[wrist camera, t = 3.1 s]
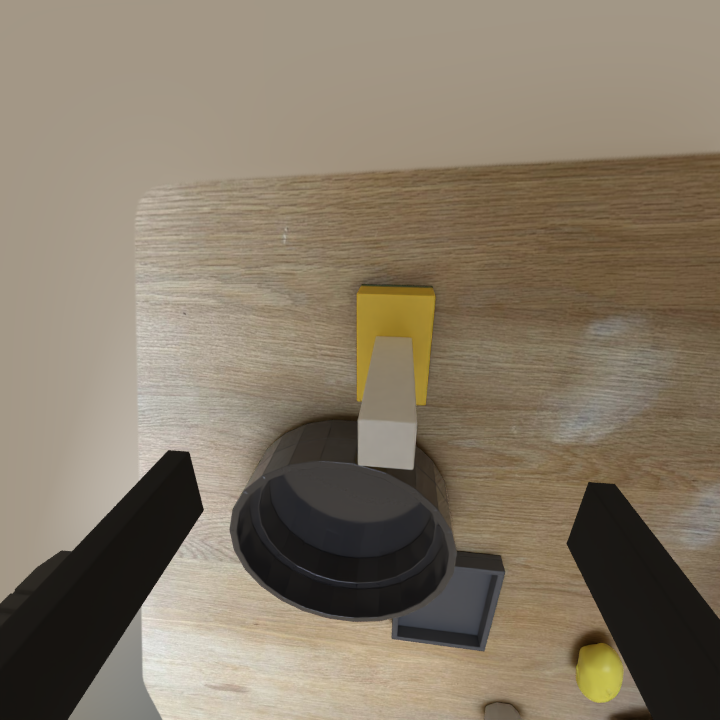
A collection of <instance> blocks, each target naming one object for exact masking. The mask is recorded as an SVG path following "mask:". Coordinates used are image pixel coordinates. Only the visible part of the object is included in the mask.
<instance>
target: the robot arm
mask: <svg viewBox="0 0 720 720" xmlns="http://www.w3.org/2000/svg"><path fill="white" fill-rule="evenodd" d="M203 510H204V509H203V505H202V501H201V497H200V493H199V489H198V485H197V481H196V477H195V473H194V469H193V465H192V461H191V457H190V453H189V452H185V451H171V450H168V451H167V452H166V453H165V454H164V456H163V457H162V458H161V459H160V460H159V461H158V462H157V463H156V464H155V465H154V466H153V467H152V468H151V469H150V470H149V471H148V472H147V473H146V474H145V475H144V476H143V478H142V479H141V480H140V481H139V482H138V483H137V484H136V485H135V486H134V487H133V488H132V489H131V490H130V491H129V492H128V493H127V494H126V495H125V496H124V498H122V500H121V501H120V502H119V503H118V504H117V505H116V506H115V507H114V508H113V509H112V510H111V511H110V512H109V513H108V514H107V515H106V516H105V517H104V518H103V519H102V520H101V522H100V523H99V524H98V525H97V526H96V527H95V528H94V529H93V530H92V531H91V532H90V533H89V534H88V535H87V536H86V537H85V538H84V539H83V540H82V541H81V543H80V544H79V545H78V546H77V547H76V548H75V549H74V550H73V551H72V552H71V551H60V552H59V553H57V554H56V555H54V556H53V557H51V558H50V559H48V560H47V561H46V562H44V563H43V564H41V565H40V566H38V567H37V568H36V569H35V570H34V571H33V572H32V573H31V574H30V575H29V576H28V577H27V578H26V579H25V580H24V581H23V582H22V583H21V584H20V585H19V586H18V587H17V588H16V589H15V592H14V593H13V594H10V595H9V596H8V597H7V598H5V600H3V601H2V603H0V720H68V718H69V716H70V715H71V714H72V712H73V710H74V709H75V707H76V706H77V704H78V703H79V701H80V700H81V698H82V697H83V695H84V694H85V692H86V690H87V689H88V687H89V686H90V684H91V683H92V681H93V680H94V678H95V676H96V675H97V674H98V672H99V670H100V669H101V667H102V666H103V664H104V663H105V661H106V659H107V658H108V657H109V655H110V653H111V652H112V650H113V649H114V647H115V646H116V644H117V643H118V641H119V640H120V638H121V637H122V635H123V634H124V632H125V630H126V629H127V627H128V626H129V624H130V623H131V621H132V620H133V618H134V617H135V615H136V613H137V612H138V610H139V609H140V607H141V606H142V604H143V603H144V601H145V600H146V598H147V597H148V595H149V594H150V592H151V590H152V589H153V587H154V586H155V584H156V583H157V581H158V580H159V578H160V577H161V575H162V574H163V572H164V570H165V569H166V567H167V566H168V564H169V563H170V561H171V560H172V558H173V557H174V555H175V554H176V552H177V550H178V549H179V547H180V546H181V544H182V543H183V541H184V540H185V538H186V537H187V535H188V534H189V532H190V530H191V529H192V527H193V526H194V524H195V523H196V521H197V520H198V518H199V517H200V515H201V514H202V512H203ZM567 546H568V548H569V550H570V552H571V554H572V556H573V558H574V560H575V562H576V564H577V566H578V568H579V570H580V572H581V574H582V576H583V578H584V580H585V582H586V584H587V586H588V588H589V590H590V592H591V594H592V596H593V598H594V600H595V602H596V604H597V606H598V608H599V610H600V612H601V615H602V617H603V619H604V621H605V623H606V625H607V627H608V629H609V631H610V633H611V635H612V637H613V639H614V641H615V643H616V645H617V647H618V649H619V651H620V653H621V655H622V657H623V659H624V661H625V663H626V665H627V667H628V669H629V671H630V673H631V675H632V677H633V679H634V681H635V683H636V686H637V688H638V690H639V692H640V694H641V696H642V698H643V700H644V702H645V704H646V706H647V708H648V710H649V712H650V714H651V716H652V718H653V720H720V619H719V618H718V617H717V615H716V614H715V613H714V612H713V610H712V609H711V608H710V606H709V605H708V604H707V603H706V601H705V600H704V599H703V597H702V596H701V595H700V594H699V592H698V591H697V590H696V588H695V587H694V586H693V584H692V583H691V582H690V581H689V579H688V578H687V577H686V575H685V574H684V573H683V572H682V570H681V569H680V568H679V566H678V565H677V564H676V562H675V561H674V560H673V559H672V557H671V556H670V555H669V553H668V552H667V551H666V550H665V548H664V547H663V546H662V544H661V543H660V542H659V540H658V539H657V538H656V537H655V535H654V534H653V533H652V531H651V530H650V529H649V528H648V526H647V525H646V524H645V522H644V521H643V520H642V519H641V517H640V516H639V515H638V513H637V512H636V511H635V509H634V508H633V507H632V506H631V504H630V503H629V502H628V500H627V499H626V498H625V497H624V495H623V494H622V493H621V491H620V490H619V489H618V487H617V486H616V485H615V484H606V483H593V482H589V483H588V485H587V488H586V491H585V494H584V497H583V499H582V502H581V505H580V508H579V511H578V513H577V516H576V519H575V522H574V525H573V527H572V530H571V533H570V536H569V539H568V541H567Z"/></svg>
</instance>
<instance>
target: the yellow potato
mask: <svg viewBox="0 0 720 720" xmlns="http://www.w3.org/2000/svg"><path fill="white" fill-rule="evenodd" d="M622 680H623V665H622V662H621V660H620V657H619V656H618V654H617V653H616V651H615V650H614V649H613V648H612V647H610V646H609V645H607V644H605V643H598V644H592V645H587V646H584V647H582V648H581V649H580V652H579V659H578V664H577V666H576V681H577V684H578V686H579V689H580V690H581V692H582V693H583V694H584V695H585V696H586V697H587V698H588V699H590V700H592V701H594V702H597V703H602V702H608V701H610V700H612V699H613V698H614V697H615V696H616V695H617V694H618V692H619V691H620V688H621V685H622Z"/></svg>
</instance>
